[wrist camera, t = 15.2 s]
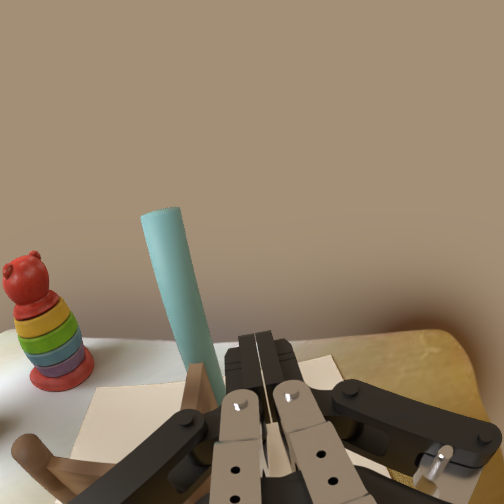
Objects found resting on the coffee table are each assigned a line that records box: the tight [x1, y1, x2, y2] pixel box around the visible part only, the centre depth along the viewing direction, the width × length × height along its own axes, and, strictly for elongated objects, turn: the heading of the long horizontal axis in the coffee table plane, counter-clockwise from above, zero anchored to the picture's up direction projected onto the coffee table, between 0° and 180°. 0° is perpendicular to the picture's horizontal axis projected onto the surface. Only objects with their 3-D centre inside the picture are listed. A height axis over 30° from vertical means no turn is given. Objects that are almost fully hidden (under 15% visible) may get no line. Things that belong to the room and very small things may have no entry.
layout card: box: [55, 355, 391, 504], centre depth 23 cm, size 29×20×1 cm
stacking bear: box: [3, 251, 94, 391], centre depth 33 cm, size 11×10×18 cm
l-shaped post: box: [140, 207, 226, 414], centre depth 21 cm, size 12×3×20 cm, turn 2°
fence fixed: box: [11, 434, 211, 504], centre depth 15 cm, size 15×3×8 cm, turn 96°
